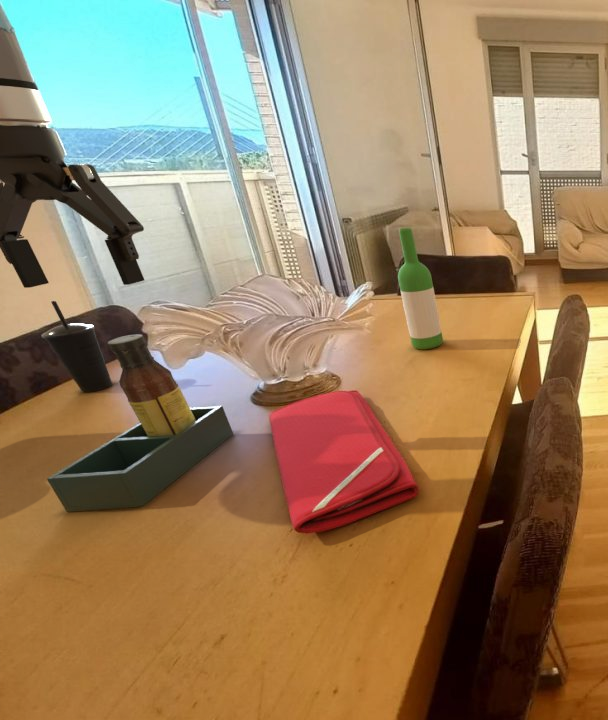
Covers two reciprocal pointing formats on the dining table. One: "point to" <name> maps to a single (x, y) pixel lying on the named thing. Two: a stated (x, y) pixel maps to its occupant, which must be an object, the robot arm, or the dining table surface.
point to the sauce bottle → (150, 388)
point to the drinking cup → (79, 353)
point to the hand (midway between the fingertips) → (86, 284)
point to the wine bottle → (418, 297)
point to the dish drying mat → (337, 461)
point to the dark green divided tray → (138, 464)
